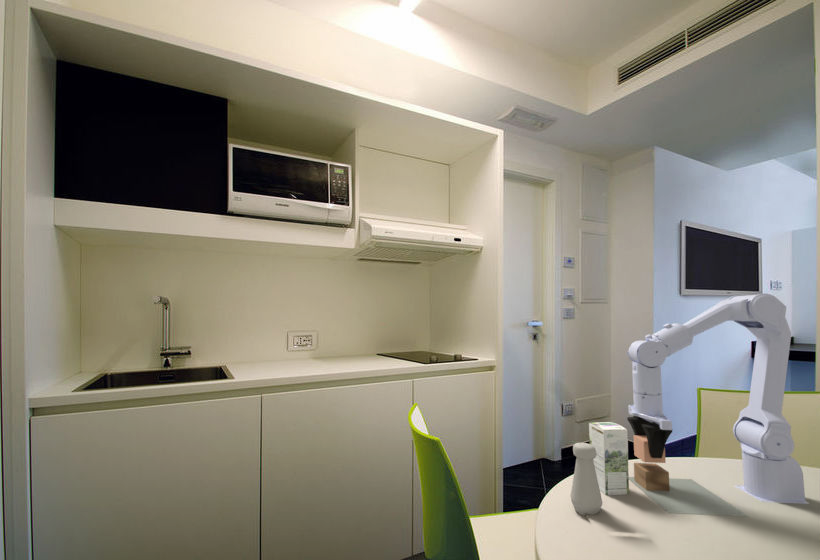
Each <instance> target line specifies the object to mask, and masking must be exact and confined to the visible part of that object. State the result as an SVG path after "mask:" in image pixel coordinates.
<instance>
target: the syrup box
mask: <svg viewBox="0 0 820 560" xmlns="http://www.w3.org/2000/svg"><path fill="white" fill-rule="evenodd" d="M588 435H589V436H588V437H589V438H588V439H589V441H588V442H589V443H588V444H591V445H593V446H594V447H595V449H596V458H594V459H593V461H594V466H595V470H596V475H597V480H598V484H599V489H600V493H602V494H603V495H604V496H615V495H629V494H630V483H629V481H630V480H629V477H630V476H629V442H628V439H629V438H628V429H627V428H626V427H624V426H622V425H620V424H618V423H615V422H612V421H606V422H605V421H604V422H603V421H602V422H589V423H588Z"/></svg>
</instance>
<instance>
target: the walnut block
mask: <svg viewBox="0 0 820 560" xmlns="http://www.w3.org/2000/svg"><path fill="white" fill-rule="evenodd" d="M633 473H634V476H633V477H634V479H635V481H636V482H637V483H638V484H639V485H640V486H642V487H643V488H644V489H645V490H653V491H670V488H669V478H670V472H669V471H668V470H666V469H664V468H663V467H662V466H660V465H659V464H657V463H650V462H634V463H633Z"/></svg>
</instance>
